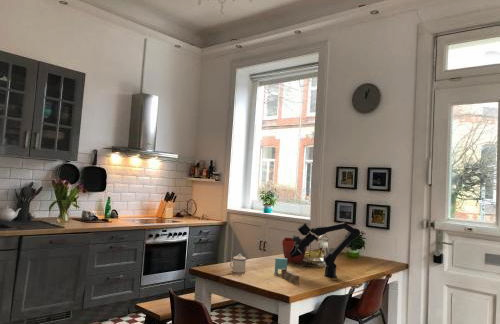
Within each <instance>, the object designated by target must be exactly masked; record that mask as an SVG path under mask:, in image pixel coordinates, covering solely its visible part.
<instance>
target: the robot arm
mask: <svg viewBox="0 0 500 324" xmlns="http://www.w3.org/2000/svg"><path fill="white" fill-rule="evenodd" d="M339 230H346V231H347V234H346V236H345V237H344V238H343V239H342V241H340V243H338V245H337V246H336V247H335V248H334V249H333V250H332V251H331V252H329V251H327V252H326V254H324V255H323V263H324V264H325V268H324V277H328V278H336V277H337V276H338V275H337V265H336V263H335V261H336V260H337V257H338V256H339V255H340V253H342V252H343V250H344V249H345V248H346V247H347V246H348V245H349V244H350V243H352V242H353V241H354V240H356V239H357V238H359V236H360V235H361V231H360V229H358V228H357V227H352V226H351V225H349V224H348V223H346V222H339V223H334V224H332V225H326V226H315V227H312V228H310V227H308V224H306V223H305V222H304V223H303V224H301V225H299V227H297V231H298V232H299V233H300V234H301V235H302V236H304V237H300V236H298V235H293V236H292V237H291V238H292V240H293V241H296V242H295V243H294V244H295V245H294V247H293V249H292V251H291V252H290V253H289V255H291V256H290V257H291V258H292V257H295V256H299V255H302V254H304V253H305V248H306V247H307V248H308V247H310V245H311V244H312V243H313V242H318V241H319V237H321V236H323V235H325V234H326V233H330V232H335V231H339ZM301 253H302V254H301ZM305 254H306V253H305Z"/></svg>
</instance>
